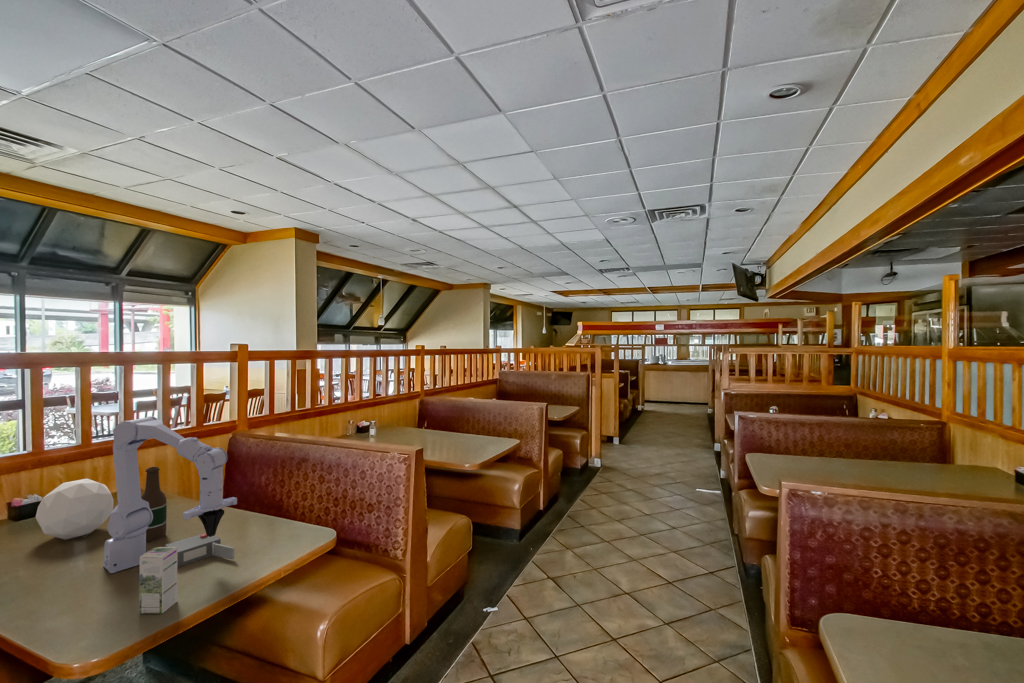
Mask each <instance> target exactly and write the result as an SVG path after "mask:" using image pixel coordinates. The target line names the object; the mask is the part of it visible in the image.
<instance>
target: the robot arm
mask: <svg viewBox="0 0 1024 683" xmlns="http://www.w3.org/2000/svg"><path fill="white" fill-rule="evenodd" d="M112 434H113V443H112V456H113V463H114V464H113V465H114V476H115V483H116V484H115V485H116V487H115V488H116V498H117V505H116V506H115V507H113V510H112V512H111V513H110V515H109V521H108V525H107V531H108V535H110V536H111V538H109V539H107V540H105V541H104V546H103V548H104V551H103V554H104V556H103V558H104V559H103V567H104V568H105V570H107V571H108V572H109V573H110V574H114V573H117V572H120V571H124V570H127V569H131V568H133V567H136V566H140V556H142V555H143V554H145V553H146V552H147V542H146V530H147V529H148V525H149V524H151V522H152V520H153V513H152V511H151V510H150V507H149V503H148V502H147V501H144V500H142V499H141V496H142V491H141V482H140V481H141V480H140V479H141V478H140V471H139V468H140V467H139V456H138V448H139V447H140V446H142V444H143V443H144V442H146V441H147V440H149V439H155V440H157V441H159V442H161V443H164V444H166V445H169V446H171V447H172V448H175V449H176V453H177V455H179V456H180V457H182V458H185V459H187V460H188V461H189V462H192V463H193V464H194V466H195V468H196V470H197V471H198V476H199V505H197V506H195V507H192V508H191V509H188V510H186V511H183V512H182V519H183V520H185V521H189V520H191V519H192V518H195V517H198V518H199V519H200V521H201V523H202V525H203V528H204V530H205V533H206V535H207V536H209V537H212V536H214V535H215V536H216V533H217V529H218V526H219V524H220V522H221V519H222V518H223V516H224V515H225V509H223V508H226V507H227V508H228V507H230V506H234V505H237V504H238V497H234V496H232V497H231V496H230V497H227V498H223V493H224V492H223V491H224V489H223V486H224V481H223V480H224V475H223V474H224V473H223V472H224V466H225V464H226V463H227V462H228V453H227V452H226V450H225V449H223V448H222V447H212V446H211V445H210V444H209V445H208V444H205V443H203V442H202V441H200V440H199V438H197V437H196V436H195V437H192V436H191V437H186V438H185V437H184V436H182V435H181V434H179V433H177V432H176V431H175V430H173V429H171V428H170V427H168V426H166V425H165V424H164V422H163V420H161V419H159V418H157V417H155V416H152V415H149V416H147V417H142V418H136V419H131V420H123V421H121V422H119V423H118V424H117V425H116V426H115V427H114V428H113V429H112Z"/></svg>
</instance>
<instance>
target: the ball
mask: <svg viewBox="0 0 1024 683" xmlns="http://www.w3.org/2000/svg"><path fill="white" fill-rule="evenodd" d="M114 500H115V499H114V497H113V495H112V493H111V491H110V489H109V488H108V486H107V485H106V484H104V483H101V482H98V481H95V480H92V479H90V478H83V479H82V478H81V479H77V480H72V481H71V480H70V481H66V482H62V483H61V484H59V485H58V486H57V487H55V488H54V489H53V490H51V491H50V492H49V493H47V494H46V495H45V496H43V497H42V499H41V501H40V503H39V504H38V506H37V510H36V514H35V520H36V521H37V523H38V525H39V528H40V529H41V531H42V532H43V534H44V535H47V536H50V537H51V536H52V537H54V538H57V539H61V540H64V541H65V540H70V539H74V538H78V537H81V536H85V535H89V534H91V533H92V532H94V531H95V530H96V529H97V528H99V527H100V526H102V524H104V523H105V522H106V521H107V519H108V518H110V513H111V512H112V511H113V510H114Z"/></svg>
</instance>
